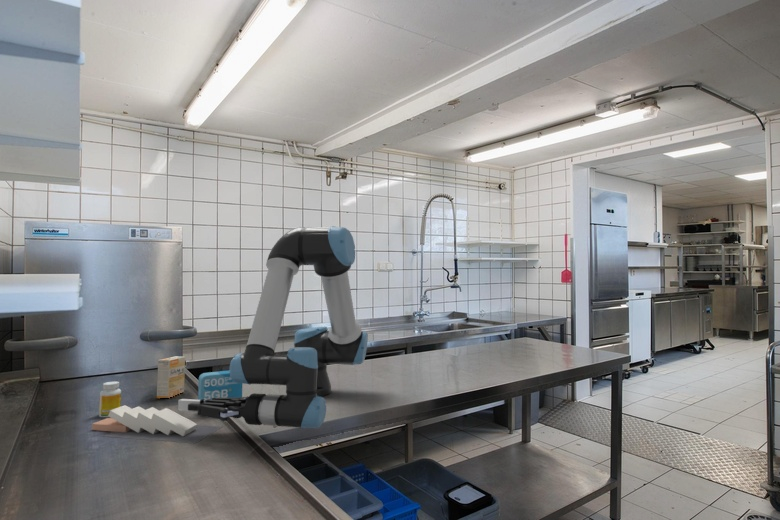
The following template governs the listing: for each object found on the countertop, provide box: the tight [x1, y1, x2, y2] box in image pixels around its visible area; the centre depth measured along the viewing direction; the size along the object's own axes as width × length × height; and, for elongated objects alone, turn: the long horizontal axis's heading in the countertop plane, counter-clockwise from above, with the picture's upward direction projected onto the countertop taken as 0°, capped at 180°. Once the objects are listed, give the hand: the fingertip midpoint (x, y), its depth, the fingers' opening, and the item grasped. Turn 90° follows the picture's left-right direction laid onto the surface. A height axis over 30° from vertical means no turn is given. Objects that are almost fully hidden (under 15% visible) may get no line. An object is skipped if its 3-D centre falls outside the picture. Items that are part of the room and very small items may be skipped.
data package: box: [197, 370, 243, 401], centre depth 130 cm, size 12×4×12 cm, turn 123°
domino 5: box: [151, 407, 198, 436], centre depth 112 cm, size 2×5×10 cm
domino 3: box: [123, 406, 159, 434], centre depth 113 cm, size 2×5×10 cm
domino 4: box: [137, 406, 174, 435], centre depth 112 cm, size 2×5×10 cm
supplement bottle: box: [98, 381, 122, 418], centre depth 126 cm, size 5×5×10 cm
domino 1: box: [91, 417, 132, 432], centre depth 114 cm, size 2×5×10 cm
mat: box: [102, 424, 223, 444], centre depth 112 cm, size 26×12×1 cm, turn 81°
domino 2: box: [108, 405, 145, 433], centre depth 114 cm, size 2×5×10 cm
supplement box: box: [156, 355, 186, 399], centre depth 148 cm, size 8×5×13 cm, turn 168°
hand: (180, 404), depth 112 cm, fingers closed
